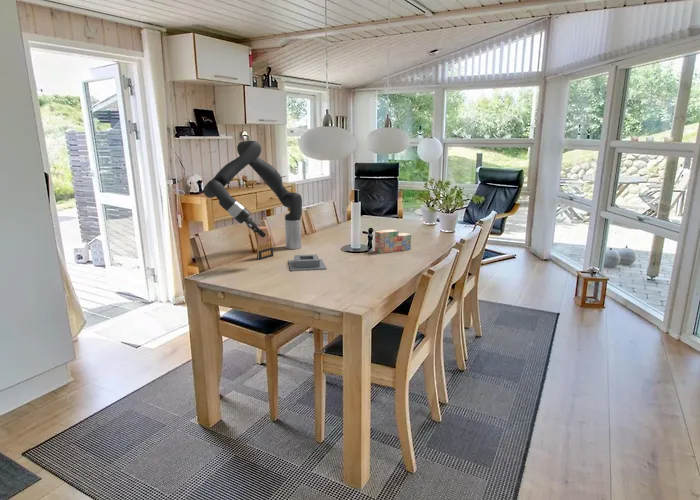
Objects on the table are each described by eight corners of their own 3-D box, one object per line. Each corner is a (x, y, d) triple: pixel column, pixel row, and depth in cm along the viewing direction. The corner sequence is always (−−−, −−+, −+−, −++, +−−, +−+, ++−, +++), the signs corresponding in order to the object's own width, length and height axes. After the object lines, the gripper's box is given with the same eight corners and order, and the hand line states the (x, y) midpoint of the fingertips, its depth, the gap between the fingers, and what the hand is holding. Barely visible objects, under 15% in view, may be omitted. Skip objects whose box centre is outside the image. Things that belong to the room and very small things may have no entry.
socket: (288, 261, 237) (288, 254, 236) (321, 260, 240) (321, 252, 239) (290, 271, 220) (290, 263, 219) (326, 269, 223) (326, 261, 222)
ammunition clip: (259, 260, 240) (258, 238, 237) (256, 259, 241) (255, 238, 238) (273, 256, 248) (272, 235, 245) (271, 255, 249) (270, 234, 246)
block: (258, 242, 227) (257, 226, 225) (267, 241, 227) (266, 226, 225) (258, 244, 222) (257, 228, 220) (267, 243, 223) (266, 228, 221)
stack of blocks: (404, 247, 270) (405, 227, 267) (410, 249, 265) (411, 229, 262) (374, 251, 261) (374, 230, 258) (379, 253, 256) (380, 232, 253)
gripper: (243, 208, 212) (269, 232, 217) (244, 204, 225) (269, 227, 231) (232, 220, 212) (259, 243, 217) (234, 215, 226) (259, 237, 231)
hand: (264, 234), depth 224 cm, fingers closed on block, 4 cm apart
